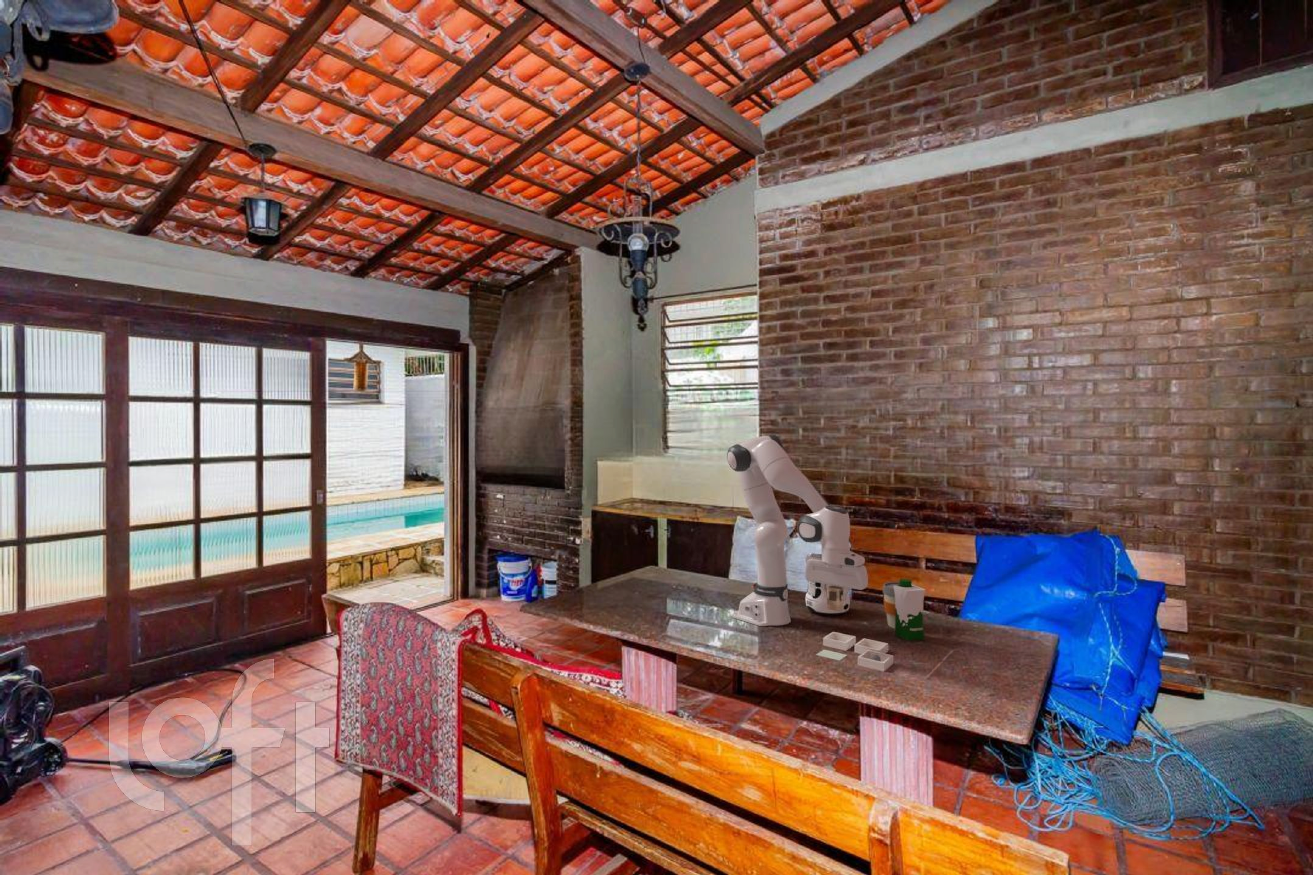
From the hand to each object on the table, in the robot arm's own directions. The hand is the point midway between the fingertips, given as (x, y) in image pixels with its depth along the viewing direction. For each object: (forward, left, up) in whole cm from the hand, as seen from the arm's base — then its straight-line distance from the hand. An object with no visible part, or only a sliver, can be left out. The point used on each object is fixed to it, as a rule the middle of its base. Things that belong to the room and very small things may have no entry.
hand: (835, 598), depth 202 cm
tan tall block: (0, 0, -3) cm, 3 cm away
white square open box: (+13, 0, -19) cm, 23 cm away
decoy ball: (+13, 0, -17) cm, 21 cm away
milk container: (-23, +45, -19) cm, 54 cm away
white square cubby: (+8, +10, -19) cm, 23 cm away
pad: (-1, -1, -19) cm, 19 cm away
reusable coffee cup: (+6, +45, -19) cm, 49 cm away
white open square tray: (-3, +10, -19) cm, 21 cm away
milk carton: (+13, +33, -19) cm, 40 cm away
